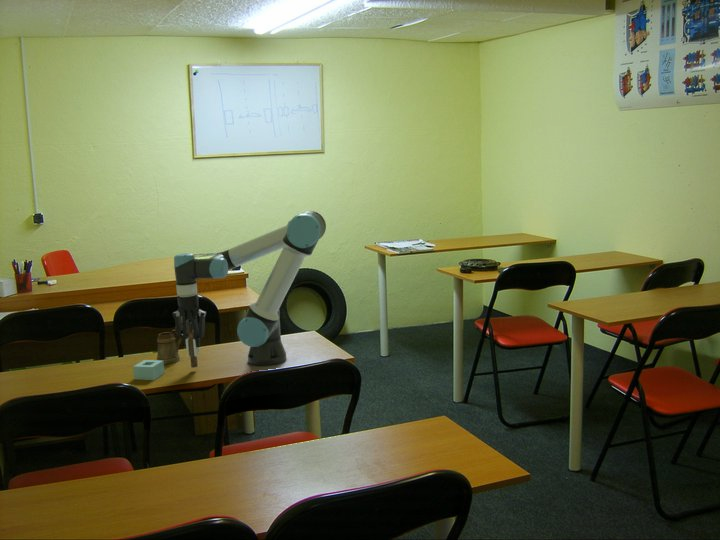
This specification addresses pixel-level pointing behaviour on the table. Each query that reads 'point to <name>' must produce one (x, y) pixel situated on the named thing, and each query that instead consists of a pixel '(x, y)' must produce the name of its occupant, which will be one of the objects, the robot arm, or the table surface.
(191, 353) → the brown stepped rod
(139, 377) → the bead
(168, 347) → the wooden mug
